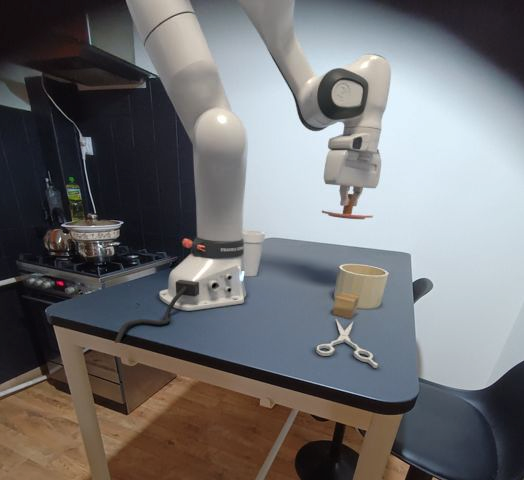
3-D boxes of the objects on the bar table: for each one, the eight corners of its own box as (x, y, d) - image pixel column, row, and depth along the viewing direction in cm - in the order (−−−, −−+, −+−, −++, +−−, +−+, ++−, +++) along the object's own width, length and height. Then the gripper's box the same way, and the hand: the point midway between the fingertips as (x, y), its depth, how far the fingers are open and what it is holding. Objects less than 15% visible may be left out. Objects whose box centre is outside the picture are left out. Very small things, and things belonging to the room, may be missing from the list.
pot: (364, 312, 79) (372, 278, 75) (324, 297, 87) (329, 267, 83) (389, 303, 87) (397, 272, 83) (350, 290, 95) (356, 262, 91)
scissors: (315, 355, 56) (321, 314, 73) (315, 358, 56) (320, 317, 73) (377, 365, 54) (368, 321, 71) (376, 369, 54) (367, 324, 72)
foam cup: (263, 271, 108) (266, 231, 102) (260, 278, 100) (263, 235, 94) (235, 268, 109) (237, 228, 102) (230, 275, 100) (231, 232, 94)
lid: (353, 220, 77) (358, 195, 74) (310, 213, 86) (314, 190, 83) (381, 219, 85) (387, 196, 83) (340, 213, 94) (344, 192, 91)
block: (349, 318, 75) (353, 301, 73) (332, 314, 77) (335, 296, 75) (355, 313, 78) (359, 296, 76) (338, 309, 80) (341, 292, 78)
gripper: (370, 149, 86) (359, 205, 93) (324, 138, 73) (315, 204, 80) (391, 149, 82) (378, 207, 89) (346, 138, 70) (335, 206, 76)
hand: (348, 206), depth 84 cm, fingers closed on lid, 2 cm apart
